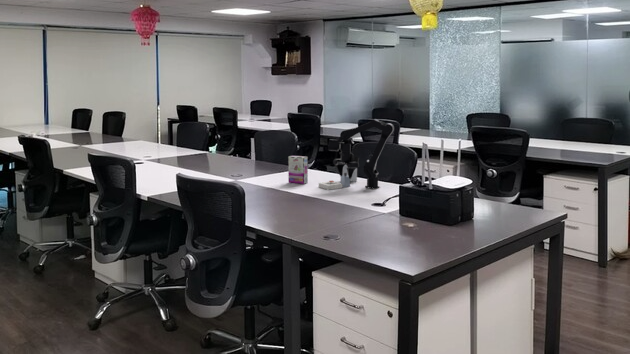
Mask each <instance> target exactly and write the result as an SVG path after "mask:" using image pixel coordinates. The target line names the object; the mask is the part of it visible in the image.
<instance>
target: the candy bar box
mask: <svg viewBox="0 0 630 354" xmlns="http://www.w3.org/2000/svg"><path fill="white" fill-rule="evenodd" d="M308 158H309V157H308V156H302V155H289V156H288V157H287V159H288V161H287V163H288V165H287V166H288V183H289V184H295V185H296V184H297V185H306V184H308V172H309V171H308V170H309V169H308V166H309V165H308Z"/></svg>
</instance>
